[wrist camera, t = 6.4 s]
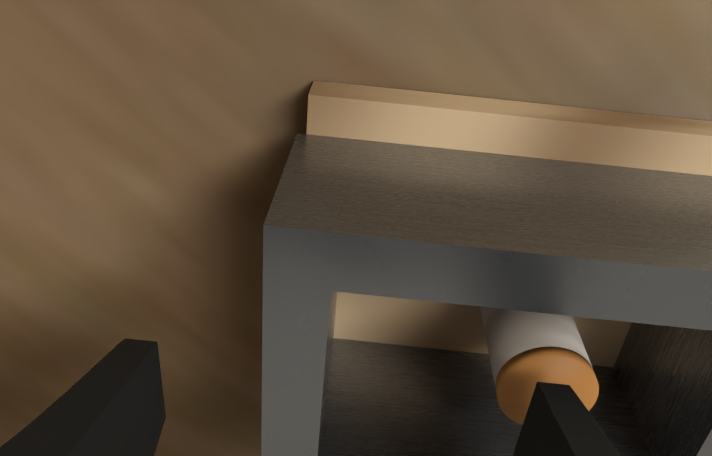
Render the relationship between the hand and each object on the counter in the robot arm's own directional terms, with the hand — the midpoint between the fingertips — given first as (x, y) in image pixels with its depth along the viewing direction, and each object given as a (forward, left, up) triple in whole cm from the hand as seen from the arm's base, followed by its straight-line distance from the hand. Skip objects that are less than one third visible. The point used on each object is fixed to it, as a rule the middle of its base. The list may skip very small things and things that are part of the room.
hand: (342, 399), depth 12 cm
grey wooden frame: (-3, 0, -4) cm, 5 cm away
